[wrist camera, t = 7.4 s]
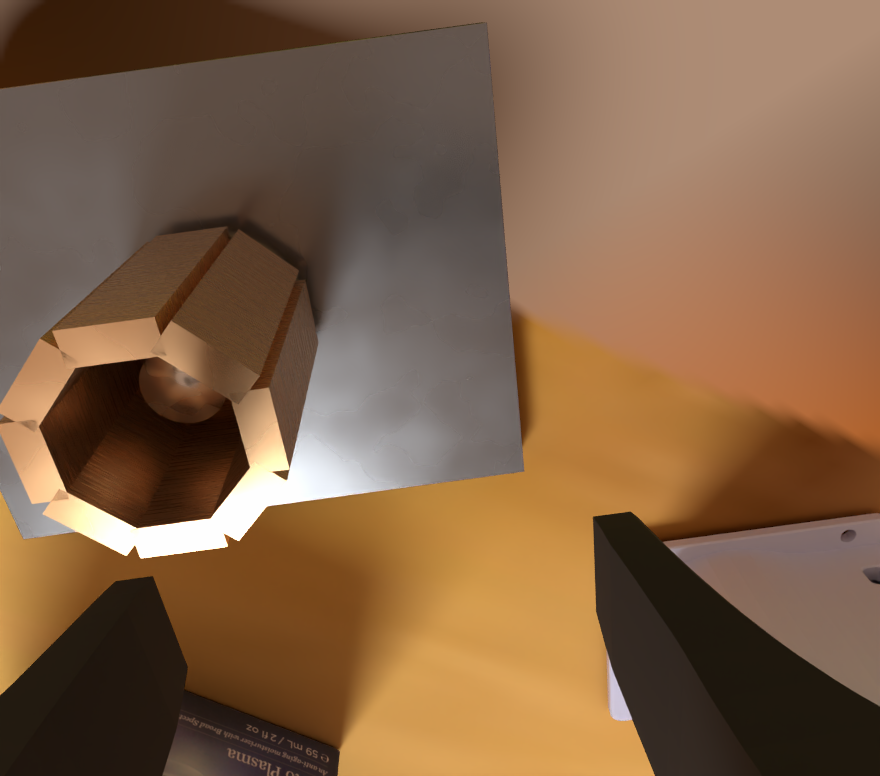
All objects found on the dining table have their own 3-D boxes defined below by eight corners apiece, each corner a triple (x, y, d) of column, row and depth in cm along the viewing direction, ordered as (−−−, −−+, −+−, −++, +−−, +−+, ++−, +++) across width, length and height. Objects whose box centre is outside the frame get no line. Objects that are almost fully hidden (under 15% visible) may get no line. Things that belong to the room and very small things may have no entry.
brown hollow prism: (292, 217, 17) (247, 304, 12) (329, 395, 20) (306, 535, 14) (92, 244, 17) (-41, 343, 12) (151, 419, 20) (61, 568, 14)
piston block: (481, 22, 17) (513, 22, 13) (519, 453, 23) (550, 559, 18) (-149, 108, 17) (-338, 139, 13) (37, 519, 23) (-49, 640, 18)
